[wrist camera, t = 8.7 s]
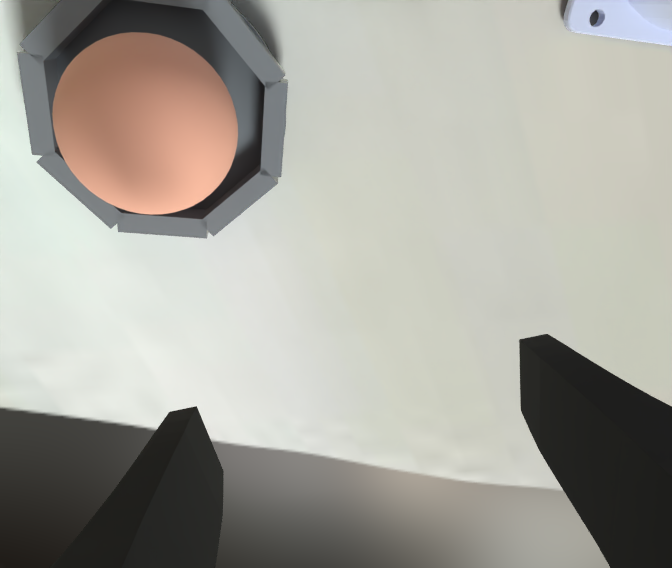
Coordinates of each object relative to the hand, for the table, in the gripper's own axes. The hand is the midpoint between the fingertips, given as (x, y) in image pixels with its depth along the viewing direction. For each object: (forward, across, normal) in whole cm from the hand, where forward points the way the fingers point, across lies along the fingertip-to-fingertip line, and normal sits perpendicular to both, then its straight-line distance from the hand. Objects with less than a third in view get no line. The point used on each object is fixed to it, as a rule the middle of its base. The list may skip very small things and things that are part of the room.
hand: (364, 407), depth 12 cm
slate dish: (+10, +4, -6) cm, 13 cm away
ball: (+10, +5, -6) cm, 12 cm away
